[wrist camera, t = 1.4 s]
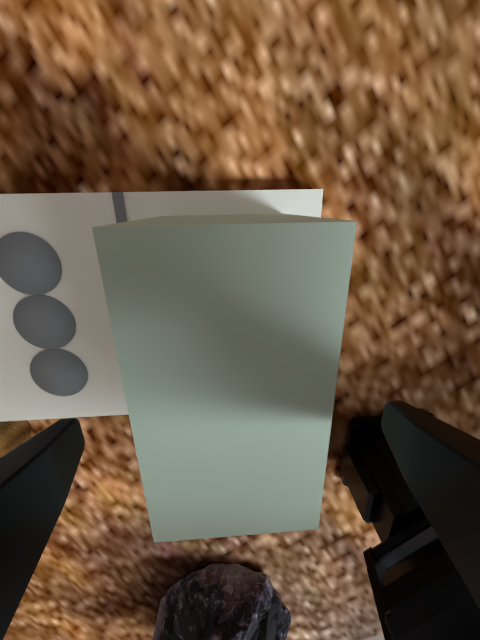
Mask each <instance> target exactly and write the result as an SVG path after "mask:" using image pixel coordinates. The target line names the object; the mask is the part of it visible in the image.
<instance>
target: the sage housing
mask: <svg viewBox="0 0 480 640" xmlns="http://www.w3.org/2000/svg"><path fill="white" fill-rule="evenodd" d="M356 224H357V221H349V220H339V219H330V218H320V217H311V216H302V215H292V214H283V213H279V214H230V215H180V216H159V217H152V218H146V219H140V220H134V221H127V222H121V223H115V224H109V225H103V226H96V227H92V231H93V236H94V241H95V246H96V251H97V256H98V261H99V266H100V271H101V276H102V281H103V286H104V291H105V297H106V302H107V307H108V312H109V317H110V322H111V327H112V332H113V337H114V342H115V347H116V352H117V357H118V362H119V367H120V373H121V378H122V383H123V388H124V393H125V398H126V403H127V408H128V413H129V418H130V423H131V428H132V433H133V438H134V443H135V449H136V454H137V459H138V464H139V469H140V474H141V479H142V484H143V489H144V494H145V499H146V504H147V509H148V514H149V519H150V524H151V530H152V535H153V540H154V543H156V542H168V541H180V540H192V539H204V538H217V537H229V536H241V535H253V534H265V533H278V532H290V531H302V530H314V529H318V528H319V520H320V512H321V504H322V496H323V488H324V480H325V472H326V464H327V456H328V448H329V440H330V432H331V424H332V416H333V408H334V400H335V392H336V384H337V376H338V368H339V360H340V352H341V344H342V336H343V328H344V320H345V312H346V304H347V296H348V288H349V280H350V272H351V264H352V256H353V248H354V240H355V232H356Z"/></svg>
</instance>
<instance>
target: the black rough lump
mask: <svg viewBox="0 0 480 640" xmlns="http://www.w3.org/2000/svg"><path fill="white" fill-rule="evenodd" d="M291 618H292V617H291V614H290V613H289V611H288V609H287V608H286V606H285V605H284V604H283V602H282V600H281V597H280V595H279V593H278V592H277V591H275V590H274V589H273V587H272V585H271V582H270V580H269V578H268V576H267V575H266V574H264V573H262V572H254V571H252V570H250V569H248V568H246V567H244V566H242V565H239V564H223V563H217V564H210V565H208V566H207V567H205V568H204V569H200V570H197V571H194V572H192V573H190V574H189V575H188V576H187V577H185V578H182V579H180V580H178V581H177V582H176V583H175V584H174V585H173V586H171V587H170V588H169V589H168V591H167V592H166V595H165V596H164V597H163V598H162V599H161V601H160V606H159V610H158V615H157V621H156V626H155V631H154V637H153V640H285V639H286V637H287V633H288V629H290V623H291Z"/></svg>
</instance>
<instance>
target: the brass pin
mask: <svg viewBox="0 0 480 640" xmlns="http://www.w3.org/2000/svg"><path fill="white" fill-rule="evenodd" d="M30 434H31V426H30V424H29V422H28V421H27V420H21V421H4V422H0V458H1V457H2V456H4V455H5V454H7V453H8V452H10V451H12V450H13V449H15V448H16V447H18V446H19V445H21V444H23V443H24V442H25V441H26V440H27V439H28V437H29V436H30Z"/></svg>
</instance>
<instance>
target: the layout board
mask: <svg viewBox="0 0 480 640" xmlns="http://www.w3.org/2000/svg"><path fill="white" fill-rule="evenodd" d="M322 197H323V189H292V190H228V191H164V192H99V193H35V194H0V422H4V421H21V420H39V419H56V418H73V417H91V416H108V415H126V414H129V413H128V408H127V403H126V398H125V393H124V388H123V383H122V378H121V373H120V367H119V362H118V357H117V352H116V347H115V342H114V337H113V332H112V327H111V322H110V317H109V312H108V307H107V302H106V297H105V291H104V286H103V281H102V276H101V271H100V266H99V261H98V256H97V251H96V246H95V241H94V236H93V231H92V227H96V226H103V225H109V224H115V223H121V222H127V221H134V220H140V219H146V218H152V217H159V216H180V215H230V214H279V213H283V214H292V215H302V216H311V217H320V218H321V209H322Z"/></svg>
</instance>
